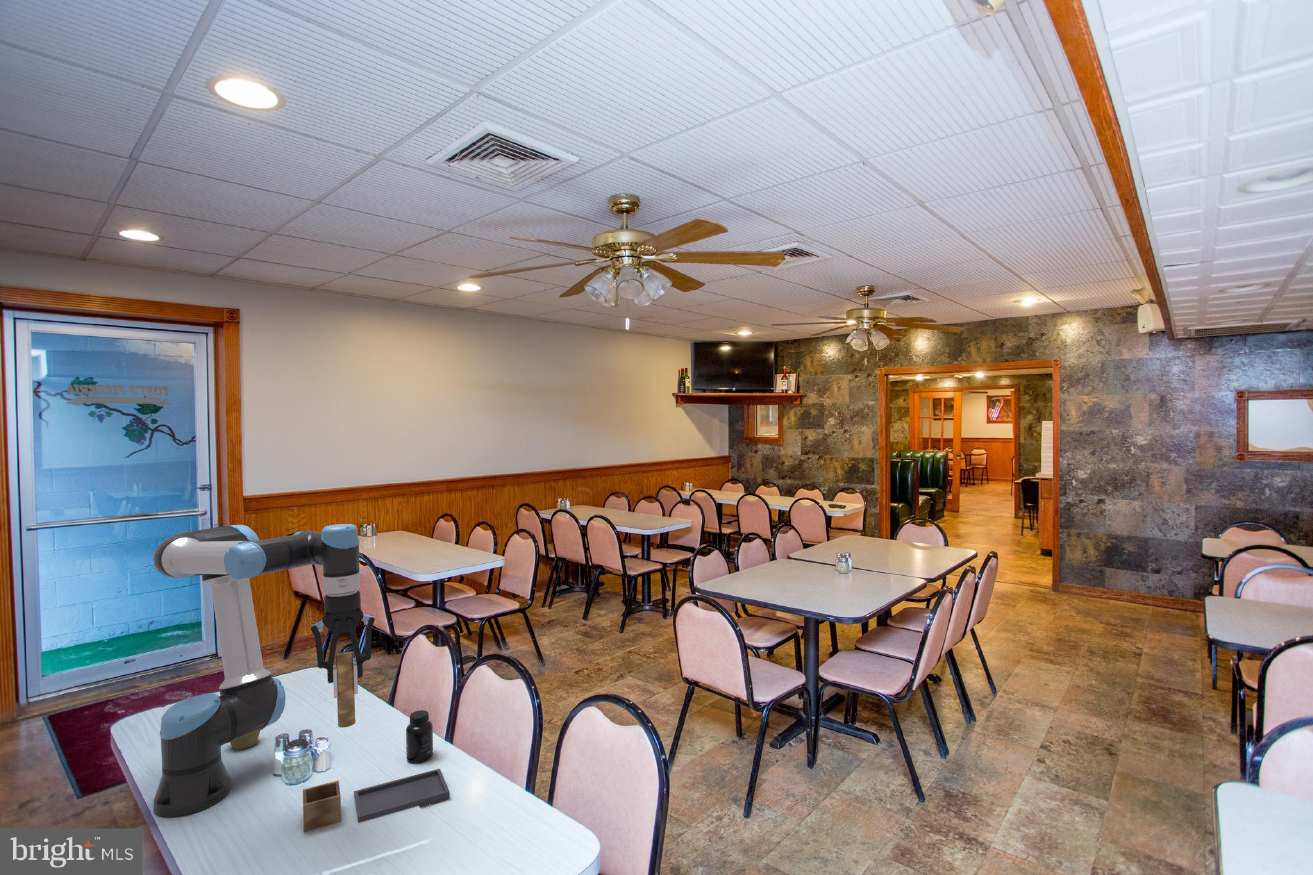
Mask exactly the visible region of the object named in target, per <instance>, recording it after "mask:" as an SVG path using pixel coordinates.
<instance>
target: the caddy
mask: <svg viewBox="0 0 1313 875" xmlns="http://www.w3.org/2000/svg"><path fill="white" fill-rule="evenodd" d="M340 788H341V787H340V781H339V780H334V781H331V782H327V783H322V784H319V785H315V786H312V787H308V788H303V789H302V818H303V833H306V832H310V831H313V830H316V829H317V830H318V829H321V828H324V827H327V826H330V825H334V824H337V823H341V822H342V803H341V801H342V800H341V799H342V798H341V796H342V795H341V789H340Z"/></svg>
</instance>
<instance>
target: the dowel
mask: <svg viewBox="0 0 1313 875" xmlns="http://www.w3.org/2000/svg"><path fill="white" fill-rule="evenodd" d="M353 662H354V652H352V651H346V652H340V653H337V654H335V666H336V668H337V691H338V698H336V702H337V704H336V706H337V707H336V708H337V726H338V727H339V728H349V727H352V726H353V725H355V724H356V701H355V698H356V697H355V694H354V671H353Z"/></svg>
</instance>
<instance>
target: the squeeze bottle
mask: <svg viewBox="0 0 1313 875" xmlns="http://www.w3.org/2000/svg"><path fill="white" fill-rule="evenodd" d="M260 732H261V730H260V731H255V732H253V733H250V734H248V735H245V736H243V737H241V738H238V739H236V740H234V741H231V742H229V743H230V746H231V748H232V749H234V750H244V749H247V748H251V747H253V746H255V744H257V743H258V740H259V736H260Z"/></svg>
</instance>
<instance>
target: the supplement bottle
mask: <svg viewBox="0 0 1313 875" xmlns="http://www.w3.org/2000/svg"><path fill="white" fill-rule="evenodd" d="M433 732H434V726H433V723H432V722H431V721H430V716H429V711H428V710H424V709H423V710H422V709H421V710H415V711H413V712H411V713H410V714H409V723H408V725H407V726H406V728H405V745H406V746H405V749H406V752H405V753H406V761H407V762H408V763H411V764H421V763H422V764H423V763H425V762H428V761H429V760H431V759H432V757H433V755H434V733H433Z"/></svg>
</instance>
